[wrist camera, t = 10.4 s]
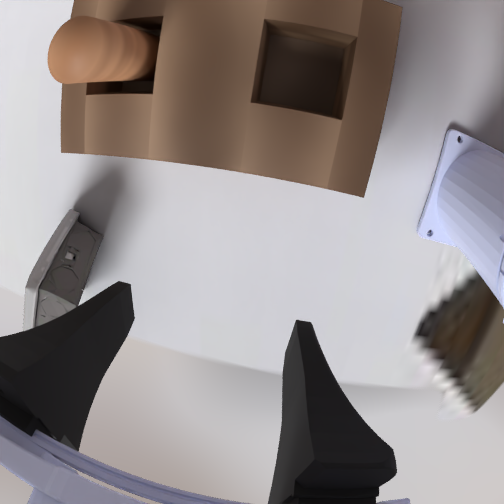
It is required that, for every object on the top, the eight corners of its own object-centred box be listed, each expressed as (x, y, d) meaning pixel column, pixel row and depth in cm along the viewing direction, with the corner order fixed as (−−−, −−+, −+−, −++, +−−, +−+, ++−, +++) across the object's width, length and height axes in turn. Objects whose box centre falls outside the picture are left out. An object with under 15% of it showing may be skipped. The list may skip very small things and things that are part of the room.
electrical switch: (74, 203, 22) (6, 267, 14) (123, 234, 24) (68, 311, 16) (54, 273, 27) (8, 337, 19) (95, 299, 28) (55, 370, 20)
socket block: (377, 22, 13) (402, 2, 9) (347, 172, 18) (363, 197, 14) (119, 2, 14) (76, -11, 10) (104, 136, 19) (61, 152, 15)
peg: (180, 37, 14) (108, 11, 8) (171, 82, 16) (96, 83, 9) (137, 36, 15) (54, 20, 8) (129, 79, 16) (44, 85, 9)
